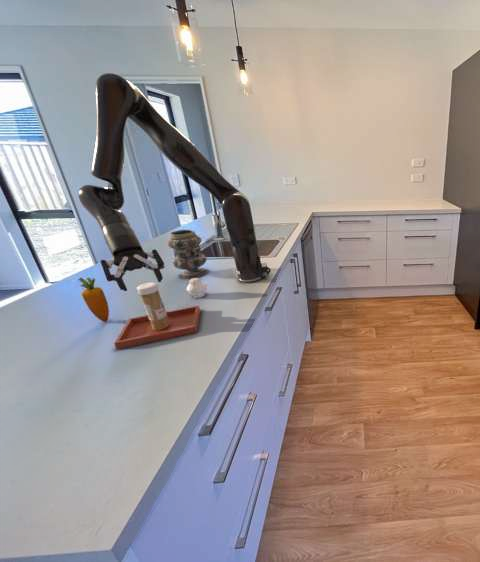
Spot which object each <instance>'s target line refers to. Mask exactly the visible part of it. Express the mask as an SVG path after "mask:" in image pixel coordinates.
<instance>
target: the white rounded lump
mask: <svg viewBox="0 0 480 562" xmlns="http://www.w3.org/2000/svg"><path fill="white" fill-rule="evenodd" d="M207 286H208V285H207V284H206V282H204V281H202V280H201V279H200V278H199V277H193V278H190V280H189V282H188V285H187V287H186V291H187V293H188V294H190V295H191V297H193V298H194V299H200V298H203V297H204V296H205V295H206V291H207Z"/></svg>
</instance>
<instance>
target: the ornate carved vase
mask: <svg viewBox="0 0 480 562" xmlns="http://www.w3.org/2000/svg"><path fill="white" fill-rule="evenodd" d="M166 243H167V246H168V247H169V248H171V249H172V251H173V256H174V258H173V261H172V265H173V267H175V268H176V269H179V270H184V271H183V272H181V273H180V275H179V277H180V278H183V279H193V278H198V277H200V276H203V275H205V274H207V272H208V270H207V269H205V268H201V267H202V266H204V265H205V264H206V262H207V256H206V255H205V254H203V253H202V249H201V246H200V244H201V243H202V237H201V236H200V235H198V234H197V233H196V231H195V230H193V229H179V230H174V231H171V232H170V233H169V239H168V240H167V242H166Z"/></svg>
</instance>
